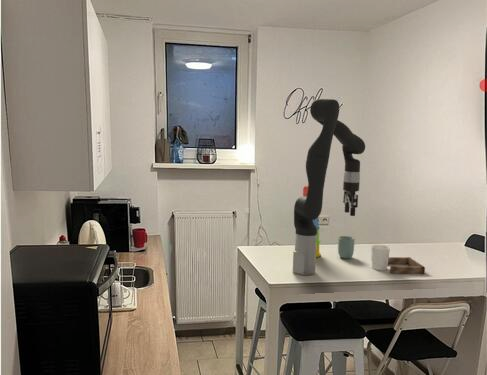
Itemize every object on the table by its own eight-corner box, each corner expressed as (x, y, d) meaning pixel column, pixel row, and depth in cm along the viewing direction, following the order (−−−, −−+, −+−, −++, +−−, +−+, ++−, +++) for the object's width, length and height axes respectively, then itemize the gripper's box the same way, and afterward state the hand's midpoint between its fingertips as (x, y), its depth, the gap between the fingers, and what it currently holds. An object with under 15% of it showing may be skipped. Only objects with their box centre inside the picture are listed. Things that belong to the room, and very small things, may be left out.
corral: (391, 273, 186) (391, 267, 186) (378, 263, 201) (378, 257, 200) (424, 273, 187) (424, 267, 186) (409, 263, 202) (409, 257, 201)
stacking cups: (315, 259, 205) (319, 188, 200) (296, 255, 210) (299, 186, 205) (323, 254, 213) (327, 186, 209) (304, 251, 219) (307, 184, 214)
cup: (352, 255, 212) (353, 236, 211) (354, 260, 204) (355, 240, 203) (336, 254, 213) (337, 235, 212) (338, 259, 205) (339, 239, 204)
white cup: (376, 271, 188) (378, 249, 187) (366, 266, 196) (368, 245, 195) (391, 270, 191) (393, 249, 189) (381, 265, 198) (383, 244, 197)
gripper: (364, 182, 196) (362, 217, 198) (354, 179, 210) (352, 211, 212) (348, 182, 196) (346, 217, 198) (339, 179, 210) (337, 211, 212)
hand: (349, 214), depth 205 cm, fingers open, 8 cm apart
